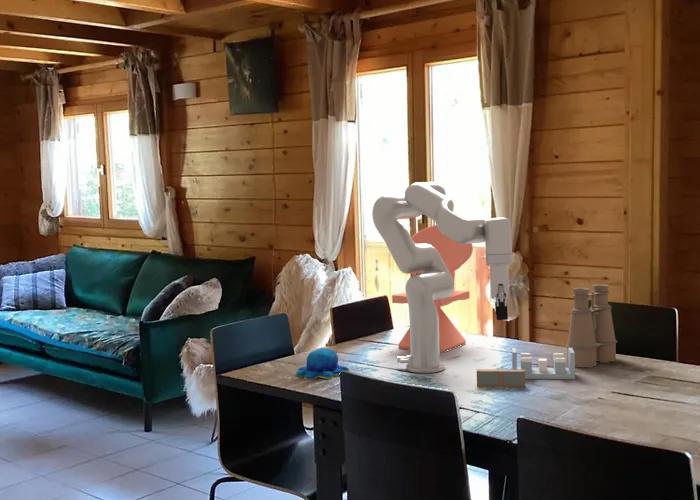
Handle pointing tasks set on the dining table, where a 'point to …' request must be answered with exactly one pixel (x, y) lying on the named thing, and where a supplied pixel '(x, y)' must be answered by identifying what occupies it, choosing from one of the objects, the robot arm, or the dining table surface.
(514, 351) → the display cradle
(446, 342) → the chair
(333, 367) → the plush toy
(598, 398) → the dining table surface
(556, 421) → the dining table surface
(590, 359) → the binoculars
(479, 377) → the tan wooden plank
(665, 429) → the dining table surface
